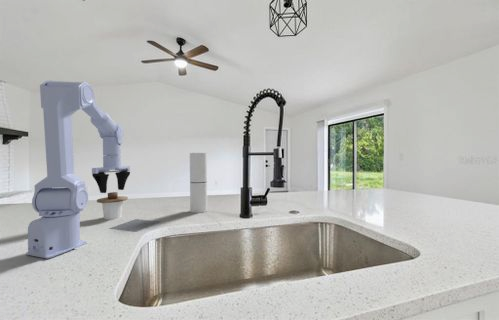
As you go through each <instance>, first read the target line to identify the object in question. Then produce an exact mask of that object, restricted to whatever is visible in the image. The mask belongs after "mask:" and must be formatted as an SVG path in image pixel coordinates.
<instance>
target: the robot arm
mask: <svg viewBox="0 0 499 320" xmlns="http://www.w3.org/2000/svg"><path fill="white" fill-rule="evenodd" d="M39 90H40V91H39V94H40V96H39V97H40V106H41V109H42V110H43V125H44V127H43V128H44V141H45V143H44V145H45V159H46V160H45V161H46V175H47V176H46V177H44V178H43V179H42V180H40V181H38V182H37V183H36V184H35V185H34V194H33V196H32V198H31V199H32V200H31V205H32V208H33V210H34V211H35V212H37V213H38V216H39V218H37V219H36V218H35V219H33V220H31V222H30V223H29V225H28V226H27V251H26V253H25V255H27V256H32V257H37V258H42V259H43V258H44V259H46V260H47V259H52V258H54V257H57V256H59V255H61V254H64V253H68V252H69V251H72V250H74V249H77V248H79V247H81V246H85V245H88V244H89V241H86V240H81V223H80V222H81V218H80V216H81V214H80V212H82V211H84V209H85V208H86V207H87V205H88V201H89V193H88V191H87V188H86V184H85V181H84V180H83V179H81V178H80V177H78V176H77V175H76V174H75V163H74V146H73V145H74V144H73V142H74V141H73V140H74V139H73V126H72V125H73V124H72V123H73V122H72V115H73V114H75V113H76V112H77V111H78V110H81V111H83V112H84V113H85V114H86V115H88V116H89V117H90V122H91V124H92V125H93V126H94V127H95V128H96V129H97V132H98V135H99V137H100V138H101V139H102V165H103V166H102V167H91V175H92V177H93V179H94V180H95V182H96V184H97V186H98V191H99V193H100V194H105V193H106V194H107V189H108V180H109V176H110V174H109V173H115V176H116V180H117V181H116V182H117V189H118V191H123V190H125V187H126V183H127V180H128V178H129V176H131V175H130V174H131V170H130V169H131V168H130V166H127V165H126V166H125V165H123V166H122V160H121V159H122V155H121V153H122V150H121V147H122V144H123V138H124V137H123V136H124V131H123V130H124V129H123V127H122V125H120V124H118V123H116V122H115V121H114V120H113V118H111V116H110V115H109V114H108V113H107V112H106V111H102V110H101V109H100V107H99V105H97V103H96V101H95V92H94V89H93V88H92V85H90V83H88V82H87V81H81V82H79V81H56V80H50V79H49V80H46V81H44V82H43V83H41V84H40V85H39Z"/></svg>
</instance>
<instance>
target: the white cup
mask: <svg viewBox="0 0 499 320" xmlns="http://www.w3.org/2000/svg"><path fill="white" fill-rule="evenodd" d="M123 203H124V201H120V202H113V203H101V205H102V213H103V219H104V220H107V221H108V220H116V219H120V218H122V215H123V214H122V213H123Z"/></svg>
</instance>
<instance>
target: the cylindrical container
mask: <svg viewBox="0 0 499 320" xmlns="http://www.w3.org/2000/svg"><path fill="white" fill-rule="evenodd" d="M207 158H208V155H207V152H189V207H190V208H189V212H190V213H197V214H202V212H204V213H206V211H207V212H208V162H207V161H208V159H207Z"/></svg>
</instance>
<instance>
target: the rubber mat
mask: <svg viewBox="0 0 499 320" xmlns="http://www.w3.org/2000/svg"><path fill="white" fill-rule="evenodd" d="M159 223H161V221H158V220H149V219H138V218H136V219H135V218H134V219H132V220H129V221H126V222H124V223H121V224H118V225H115V226H112V227H109V229H110V230H111V229H112V230H116V231H117V230H118V231H124V232H125V231H126V232H136V233H137V232H139V231H142V230H144V229H147V228H149V227H151V226H154V225H156V224H159Z"/></svg>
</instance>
